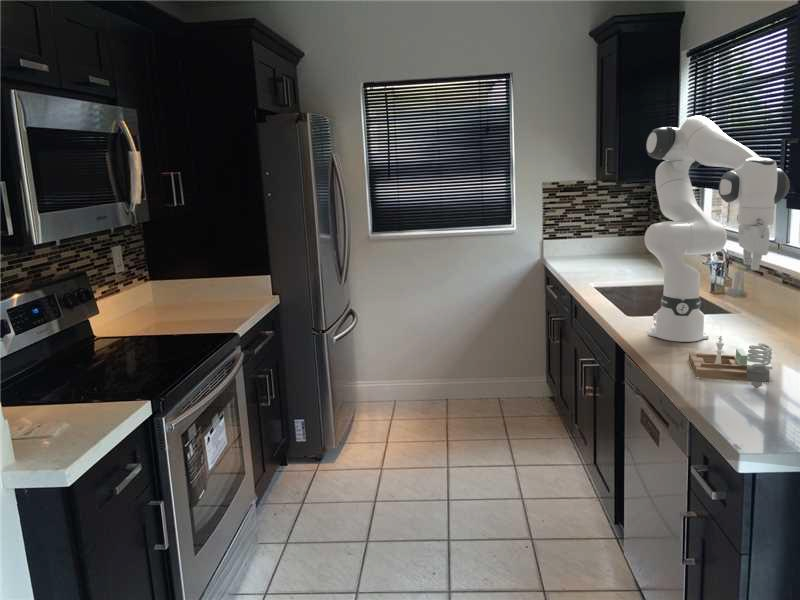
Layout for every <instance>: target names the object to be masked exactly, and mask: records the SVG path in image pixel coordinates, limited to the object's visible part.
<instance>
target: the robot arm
mask: <svg viewBox="0 0 800 600" xmlns="http://www.w3.org/2000/svg"><path fill="white" fill-rule="evenodd" d="M645 150H646V152H647V155H648V156H649V157H650V158H652V159H655V160H659V161H660V160H664V161H662V162H660V164H659V165H658V166H657V167H656V169H655V188H656V194H657V199H658V205H659V208H660V211H661V213H662V215H663V216H664V217H666V218H668V220H671V221H662V222H657V223H656V222H655V223H653V224H651V225H650V226H649V227H647V229H646V231H645V233H644V245H645V247H646V249H647V250H648V251H649V252H650V253H652V255H654V256H655V257H656V259H657V260H658V261H659V262H660V265H661V268H662V270H663V271H662V272H663V294H662V296H661V298H660V305H661V307H660V308H659V309H658V310H657V311H656V313H653V317H652V318H653V321H654V322H653V324H652V326H651V328H650V329H649V331H648V336H650V337H654V338H655V337H656V338H659V339H661V340H665V341H670V342H681V343H682V342H683V343H685V342H687V343H689V342H698V341H702V340H708V339H709V334H708V333H706V332H705V331H704V329H705V328H704V327H705V326H704V324H705V314H704V312H702V311H701V309H700V307H701V302H702V301H701V296H700V292H701V291H700V288H701V279H702V278H701V274H700V272H699V270H698V269H696V267H693V266H691V265H690V264H687V263H686V260H685V258H686V257H685V256H686V255H689V256H691V255H707V254H708V255H709V254H713V253H718V252H720V251H722V250H723V248H724V247H725V245H726V243H727V239H728V233H727V231H726V228H725V227H724V225H723V224H722V223H720V222H718V221H716V220H714V219H712V218H711V217H710V216H708V215H707V214H706V213H705V211H703V209H702V208H701V207H700V206H699V204H698V202H697V200H696V197H695V194H694V191H693V187H692V186H693V185H692V182H691V179H690V176H689V171H690V168H691V169H696V168H698V167H699V166H700V164H701V165H704V166H705V167H716V168H717V167H718V168H729V169H733V170H728V171H726V172H725V173H723V175H722V176H721V178H720V179H719V183H718V195H719V196H720V198H721V199H722V201H724V202H725V203H729V204H739V206H738V210H737V211H738V213H737V216H736V221H737V224H738V235H737V236H738V237H737V238H738V245H739V247H741V248H742V251H743V264H744V265H747V266H750V269H751V270H752V271H759V270H760V266H761V265H760V264H761V261H762V257H763V256H767V255H768V253H769V248H770V227H769V226H771V225H774V221H775V212H776V211H775V209H776V205H777V204H778V203H779V202H781V201H782V200H783V199H785V197H786V196H787V194H788V193H789V191H790V188H791V187H790V186H791V185H790V179H789V177H788V175H787V174H786V172H785V171H783V169H781V168H778V166H777V165H778V164H777V162H776V161H775V160H774V159H771V158H769V157H761V156H759V154H757V153H756V152H754V151H753V150H751V149H750V148H749V147H748V146H746V145H743V143H740V142H738V141H736V140H735V139H733V138H732V137H730V136H729V135H727V134H726V133H725V132H723V130H722V129H721V128H720V127H719V126H718V125H717V124H716V123H715V122H713V121H712V120H710V119H709V118H707V117H706V116H702V115H694V116H690V117H689V118H687V119H686V120H685V121H684V122H683V124H682V125H681V127H673V126H665V127H664V126H663V127H662V126H661V127H658V128H654V129H653V130H652V131H650V133H649V134H648V136H647V138H646V143H645Z"/></svg>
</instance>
